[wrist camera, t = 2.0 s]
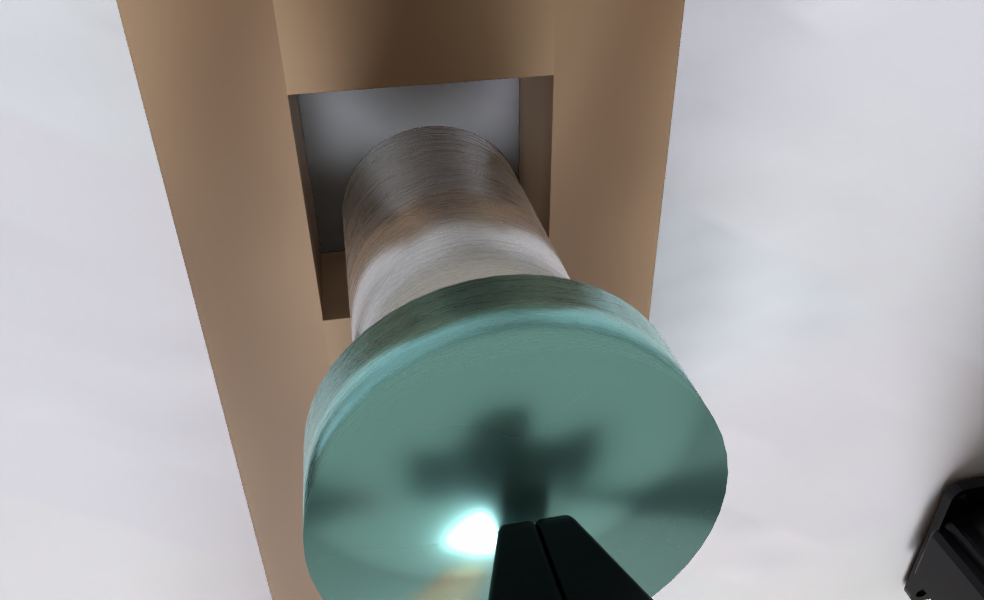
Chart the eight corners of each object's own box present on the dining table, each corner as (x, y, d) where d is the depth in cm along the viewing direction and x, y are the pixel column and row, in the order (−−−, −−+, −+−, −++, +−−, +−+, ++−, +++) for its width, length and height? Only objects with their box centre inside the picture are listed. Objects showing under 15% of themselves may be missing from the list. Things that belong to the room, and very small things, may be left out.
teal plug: (557, 79, 15) (760, 322, 8) (550, 301, 18) (699, 620, 11) (286, 100, 14) (267, 385, 8) (323, 328, 17) (331, 687, 10)
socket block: (645, -208, 16) (708, -206, 13) (582, 614, 30) (606, 689, 27) (108, -197, 14) (66, -193, 12) (311, 663, 28) (311, 747, 26)
